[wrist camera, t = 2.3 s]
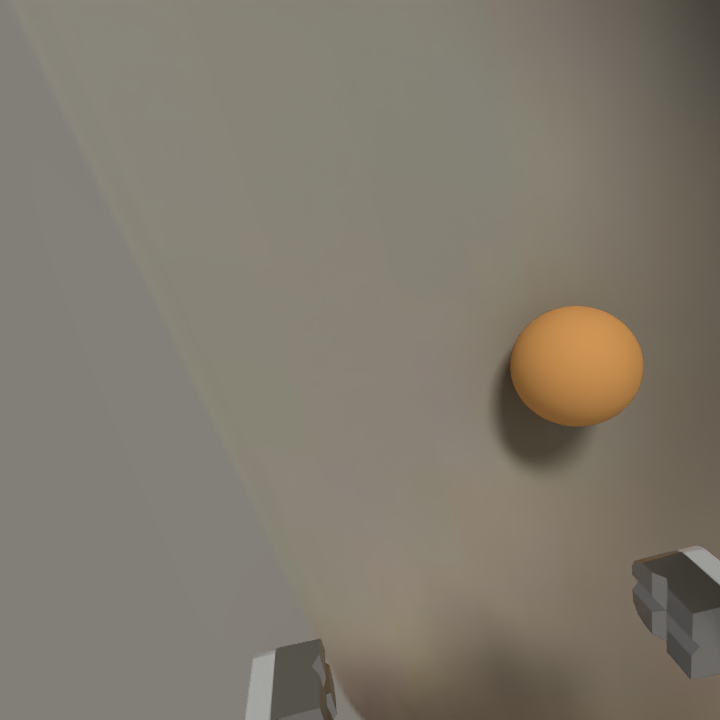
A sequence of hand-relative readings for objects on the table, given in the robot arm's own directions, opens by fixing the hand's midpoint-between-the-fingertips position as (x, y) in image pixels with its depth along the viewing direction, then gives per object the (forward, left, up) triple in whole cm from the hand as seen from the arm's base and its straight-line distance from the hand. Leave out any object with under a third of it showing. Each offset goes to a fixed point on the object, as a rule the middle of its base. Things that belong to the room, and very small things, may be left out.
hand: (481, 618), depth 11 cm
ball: (0, +9, -13) cm, 16 cm away
